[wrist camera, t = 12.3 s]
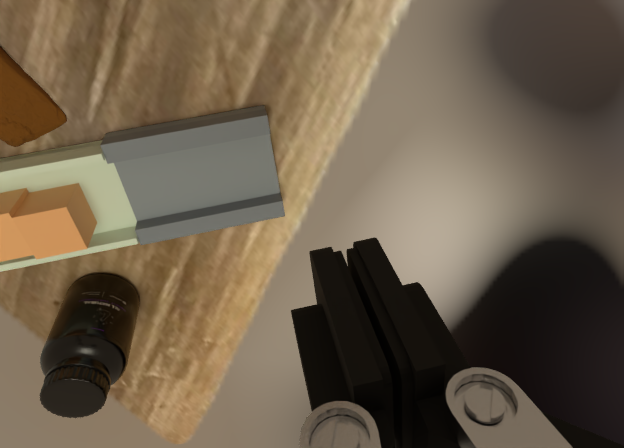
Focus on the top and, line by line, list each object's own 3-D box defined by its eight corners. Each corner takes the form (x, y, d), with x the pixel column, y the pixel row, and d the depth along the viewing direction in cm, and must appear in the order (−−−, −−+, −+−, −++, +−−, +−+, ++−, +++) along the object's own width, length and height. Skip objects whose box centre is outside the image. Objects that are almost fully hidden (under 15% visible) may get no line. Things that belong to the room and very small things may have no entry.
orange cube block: (-25, 197, 37) (-48, 224, 34) (26, 187, 37) (8, 212, 34) (0, 237, 39) (-19, 265, 36) (48, 227, 39) (33, 255, 36)
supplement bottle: (124, 263, 44) (100, 360, 34) (150, 313, 48) (134, 413, 38) (52, 280, 43) (6, 384, 34) (84, 329, 47) (51, 435, 37)
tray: (-57, 168, 36) (-76, 186, 34) (115, 137, 37) (109, 152, 35) (-2, 253, 41) (-16, 274, 38) (148, 224, 42) (145, 242, 40)
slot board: (106, 133, 37) (100, 145, 35) (264, 105, 38) (267, 115, 36) (144, 229, 42) (140, 245, 40) (281, 202, 44) (285, 215, 41)
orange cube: (29, 192, 37) (11, 218, 34) (78, 182, 38) (66, 207, 35) (50, 232, 40) (36, 259, 36) (97, 222, 40) (87, 248, 37)
